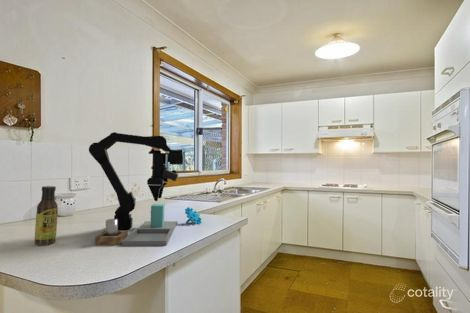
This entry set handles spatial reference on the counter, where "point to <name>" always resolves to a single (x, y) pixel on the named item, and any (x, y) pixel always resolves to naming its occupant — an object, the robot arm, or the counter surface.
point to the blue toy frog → (192, 216)
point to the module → (157, 215)
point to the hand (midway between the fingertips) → (158, 199)
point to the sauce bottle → (46, 217)
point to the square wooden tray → (110, 238)
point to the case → (150, 235)
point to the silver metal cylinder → (112, 227)
